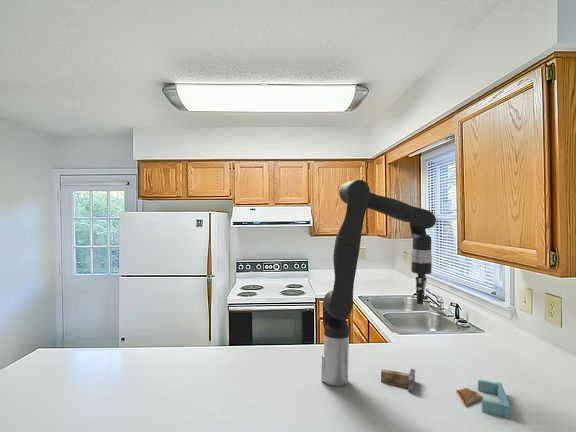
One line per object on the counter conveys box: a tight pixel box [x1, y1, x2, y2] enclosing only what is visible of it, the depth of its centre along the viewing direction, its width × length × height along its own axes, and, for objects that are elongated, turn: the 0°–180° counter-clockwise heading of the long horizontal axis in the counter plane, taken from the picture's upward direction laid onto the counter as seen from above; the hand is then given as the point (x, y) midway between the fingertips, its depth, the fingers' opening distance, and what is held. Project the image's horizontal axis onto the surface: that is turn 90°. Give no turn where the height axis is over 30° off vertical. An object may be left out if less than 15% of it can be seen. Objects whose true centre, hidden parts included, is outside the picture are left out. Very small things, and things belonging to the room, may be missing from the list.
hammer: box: [380, 368, 416, 394], centre depth 135 cm, size 12×10×4 cm
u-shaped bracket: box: [477, 379, 511, 419], centre depth 123 cm, size 8×18×4 cm, turn 157°
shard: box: [455, 387, 484, 407], centre depth 126 cm, size 11×8×2 cm
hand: (420, 301), depth 145 cm, fingers open, 8 cm apart
